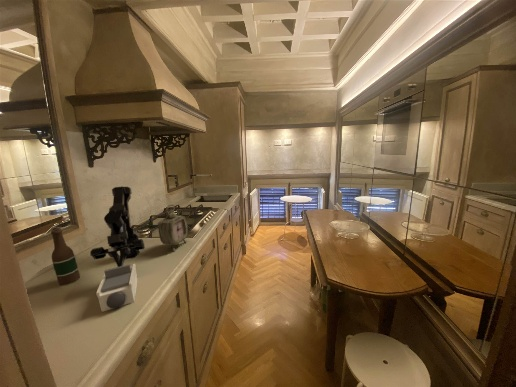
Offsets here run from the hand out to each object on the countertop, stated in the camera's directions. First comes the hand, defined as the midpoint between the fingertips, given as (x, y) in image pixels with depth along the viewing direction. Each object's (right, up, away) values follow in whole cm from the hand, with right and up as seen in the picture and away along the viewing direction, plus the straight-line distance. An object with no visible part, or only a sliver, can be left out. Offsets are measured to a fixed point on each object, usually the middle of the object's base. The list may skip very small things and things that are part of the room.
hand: (119, 268), depth 87 cm
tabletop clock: (+9, 0, +36) cm, 37 cm away
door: (+3, -3, -6) cm, 8 cm away
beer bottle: (-28, -9, +8) cm, 30 cm away
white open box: (+3, -9, -3) cm, 10 cm away
